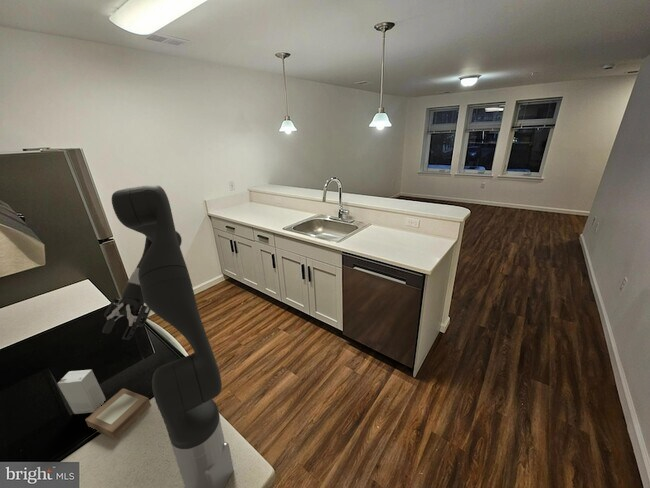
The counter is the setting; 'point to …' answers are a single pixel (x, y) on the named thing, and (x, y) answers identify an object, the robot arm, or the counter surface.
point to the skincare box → (82, 391)
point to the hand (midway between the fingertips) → (115, 336)
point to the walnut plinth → (118, 413)
